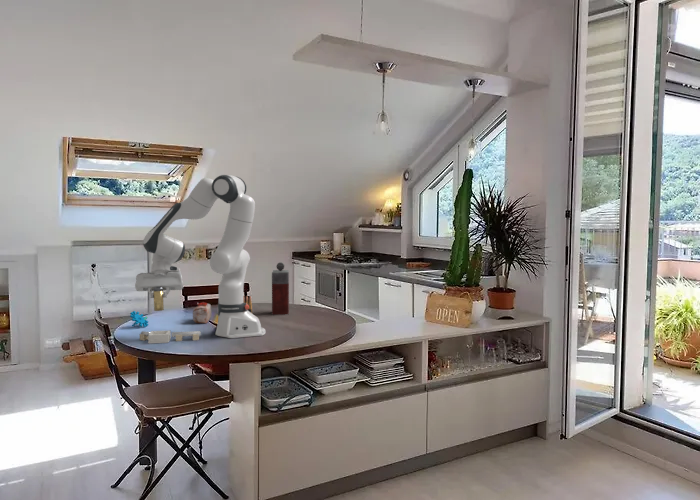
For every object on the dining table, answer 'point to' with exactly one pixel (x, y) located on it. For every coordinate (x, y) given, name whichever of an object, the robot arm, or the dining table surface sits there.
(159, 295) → the yellow jar
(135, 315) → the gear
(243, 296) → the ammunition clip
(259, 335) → the robot arm
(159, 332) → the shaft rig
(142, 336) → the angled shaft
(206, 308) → the food item
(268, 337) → the dining table surface
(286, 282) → the red grey bottle
